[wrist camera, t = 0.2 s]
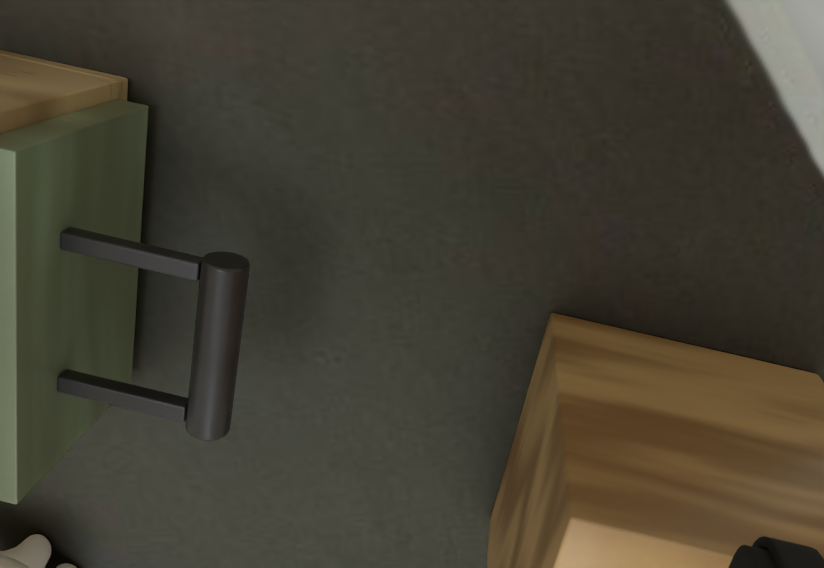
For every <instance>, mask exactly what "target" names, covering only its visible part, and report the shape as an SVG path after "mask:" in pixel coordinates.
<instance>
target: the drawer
mask: <svg viewBox="0 0 824 568" xmlns="http://www.w3.org/2000/svg"><path fill="white" fill-rule="evenodd" d="M148 109H149V107H148V106H147V105H143V104H138V103H134V102H129V101H125V100H120V99H114V100H111V101H108V102H104V103H101V104H98V105H94V106H91V107H88V108H84V109H81V110H78V111H74V112H71V113H68V114H64V115H61V116H58V117H54V118H51V119H48V120H44V121H41V122H38V123H34V124H31V125H28V126H24V127H21V128H18V129H14V130H11V131H8V132H4V133H1V134H0V501H4V502H8V503H12V504H18V503H19V502H20V501H21V499H22V498H23V497H24V496H25V495H26V494H27V493H28V492H29V491H30V490H31V489H32V488H33V487H34V486H35V485H36V484H37V483H38V482H39V481H40V480H41V479H42V477H43V476H44V475H45V474H46V473H47V472H48V471H49V470H50V469H51V468H52V467H53V466H54V465H55V464H56V463H57V462H58V461H59V460H60V459H61V458H62V457H63V455H64V454H65V453H66V452H67V451H68V450H69V449H70V448H71V447H72V446H73V445H74V444H75V443H76V442H77V441H78V440H79V439H80V438H81V437H82V436H83V435H84V433H85V432H86V431H87V430H88V429H89V428H90V427H91V426H92V425H93V424H94V423H95V422H96V421H97V420H98V419H99V418H100V417H101V416H102V415H103V414H104V413H105V411H106V410H107V409H108V408H109V407H110V406H111V405H114V406H118V407H122V408H126V409H130V410H134V411H138V412H143V413H147V414H151V415H155V416H159V417H163V418H167V419H171V420H175V421H180V422H184V421H185V420H186V430H187V432H188V433H189V434H190V435H191V436H193V437H195V438H197V439H200V440H217V439H220V438H222V437H224V436H225V435H226V434H227V433H228V432H229V430H230V424H231V415H232V407H233V399H234V391H235V383H236V375H237V367H238V358H239V350H240V342H241V334H242V326H243V318H244V309H245V301H246V293H247V285H248V277H249V269H250V264H249V261H248V260H247V259H246V258H245V257H243V256H241V255H238V254H235V253H230V252H212V253H208V254H206V255H204V257H199V256H194V255H190V254H186V253H181V252H177V251H173V250H169V249H164V248H160V247H156V246H151V245H147V244H143V243H140V236H141V220H142V204H143V188H144V173H145V157H146V141H147V125H148ZM138 268H141V269H146V270H150V271H154V272H158V273H163V274H167V275H171V276H175V277H180V278H184V279H188V280H192V281H198V280H199V279H200V282H199V292H198V303H197V313H196V323H195V334H194V344H193V354H192V365H191V375H190V386H189V396H188V398H185V397H181V396H177V395H173V394H169V393H165V392H161V391H157V390H152V389H148V388H144V387H140V386H136V385H132V384H131V380H132V364H133V348H134V332H135V316H136V300H137V284H138Z"/></svg>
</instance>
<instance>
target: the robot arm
mask: <svg viewBox="0 0 824 568" xmlns="http://www.w3.org/2000/svg"><path fill="white" fill-rule="evenodd" d="M729 568H824V559H823V557H822V556H821V554H820V553H819V552H818V550H816V549H814V548H812V547H809V546H805V545H801V544H796V543H792V542H788V541H783V540H779V539H775V538H770V537H766V536H763V537H759V538H758V539H757V540H756V541H755V542H754V543H753V545H752V546H748V545H741V546H740V547H739V548H738V549H737V551H736V552H735V554H734V556H733V559H732V561H731V563H730V565H729Z"/></svg>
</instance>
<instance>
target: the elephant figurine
mask: <svg viewBox="0 0 824 568" xmlns="http://www.w3.org/2000/svg"><path fill="white" fill-rule="evenodd" d="M50 556H51V545H50V543H49V541H48V540H47V538H46V537H44V536H43V535H40V534H34V535H31V536H29V537H27V538H26V539H25V540H24V541H23V542H22V543H20V544H19V545H18V546H16V547H15V548H12V549H9V550H6V551H0V568H45V566H46V564H47V562H48V560H49V558H50ZM56 568H77V567H76V566H74V565H72V564H69V563H64V564H60V565H58V566H57V567H56Z"/></svg>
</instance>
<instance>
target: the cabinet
mask: <svg viewBox="0 0 824 568" xmlns="http://www.w3.org/2000/svg"><path fill="white" fill-rule="evenodd" d="M127 93H128V79H127V78H125V77H121V76H116V75H112V74H107V73H103V72H98V71H94V70H89V69H85V68H80V67H76V66H71V65H67V64H62V63H58V62H53V61H49V60H44V59H40V58H36V57H31V56H27V55H22V54H18V53H13V52H9V51H4V50H0V134H1V133H4V132H8V131H11V130H14V129H18V128H21V127H24V126H28V125H31V124H34V123H38V122H41V121H44V120H48V119H51V118H54V117H58V116H61V115H64V114H68V113H71V112H74V111H78V110H81V109H84V108H88V107H91V106H94V105H98V104H101V103H104V102H108V101H111V100H114V99H120V100H125V101H127Z"/></svg>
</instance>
